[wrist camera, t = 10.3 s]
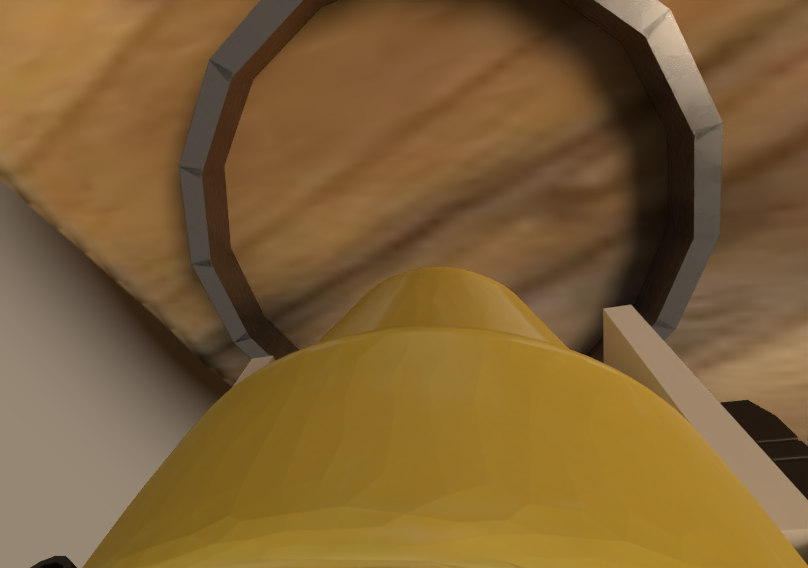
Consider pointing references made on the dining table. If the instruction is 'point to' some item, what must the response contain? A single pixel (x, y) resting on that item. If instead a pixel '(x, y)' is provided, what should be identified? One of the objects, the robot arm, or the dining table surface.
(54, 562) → the robot arm
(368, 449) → the plant pot
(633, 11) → the centring collar
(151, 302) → the dining table surface
